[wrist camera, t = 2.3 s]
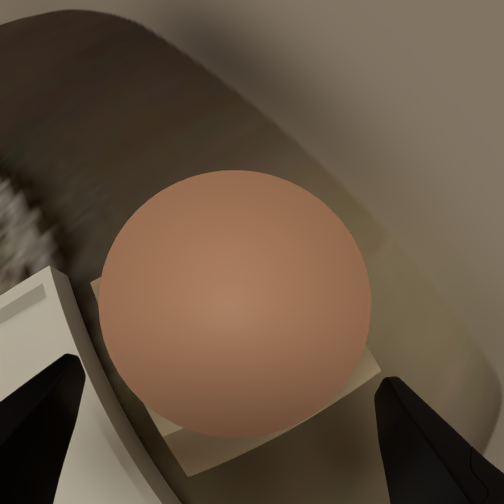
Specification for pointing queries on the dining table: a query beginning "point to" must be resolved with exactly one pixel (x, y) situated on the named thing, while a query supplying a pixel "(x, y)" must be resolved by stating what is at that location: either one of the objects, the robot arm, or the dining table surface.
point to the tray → (92, 402)
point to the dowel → (235, 304)
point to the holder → (224, 449)
